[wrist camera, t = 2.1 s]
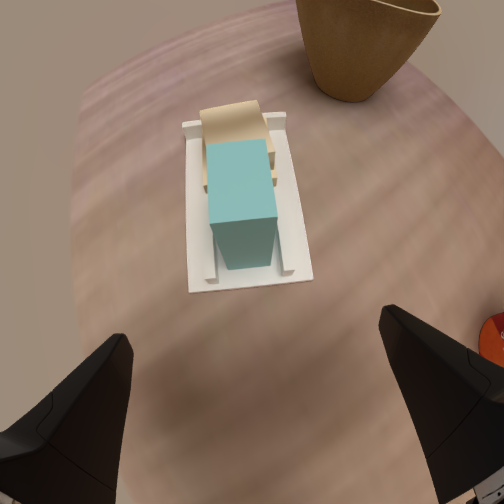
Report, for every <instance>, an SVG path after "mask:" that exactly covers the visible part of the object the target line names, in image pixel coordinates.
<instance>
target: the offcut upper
mask: <svg viewBox="0 0 504 504" xmlns="http://www.w3.org/2000/svg"><path fill="white" fill-rule="evenodd" d="M199 112H200V118H201V123H202V129H203V134H204V140H205V145H208V144H216V143H224V142H233V141H243V140H253V139H266V145H267V151H268V157H269V163H270V169H271V170H274V163H275V149H274V146H273V143H272V140H271V137H270V135H269V132H268V129H267V126H266V123H265V121H264V118H263V115H262V113H261V110H260V107H259V105H258V102H257V100H253V101H246V102H241V103H235V104H230V105H224V106H219V107H214V108H210V109H205V110H201V111H199Z"/></svg>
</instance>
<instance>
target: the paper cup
mask: <svg viewBox="0 0 504 504" xmlns="http://www.w3.org/2000/svg"><path fill="white" fill-rule="evenodd" d="M479 353H480V355H481V356H482V357H484V358H486V359H488V360H490V361H492V362H494V363H496V364H498V365H500V366H502V367H504V312H502V313H500V314H497V315H494V316H492V317H490V318H489V319H488V320H487V321H486V322H485V323H484V325H483V327H482V330H481V333H480V337H479Z"/></svg>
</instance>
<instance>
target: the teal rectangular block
mask: <svg viewBox="0 0 504 504" xmlns="http://www.w3.org/2000/svg"><path fill="white" fill-rule="evenodd" d="M206 158H207V187H208V210H209V225H210V227H211V230H212V232H213V235H214V237H215V240H216V242H217V244H218V247H219V249H220V252H221V254H222V257H223V259H224V262H225V264H226V267H227V269H228V270H235V269H245V268H254V267H264V266H270V265H271V259H272V253H273V246H274V240H275V233H276V227H277V220H278V213H277V207H276V200H275V194H274V187H273V181H272V175H271V169H270V163H269V157H268V151H267V145H266V139H253V140H243V141H233V142H224V143H216V144H208V145H206Z"/></svg>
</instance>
